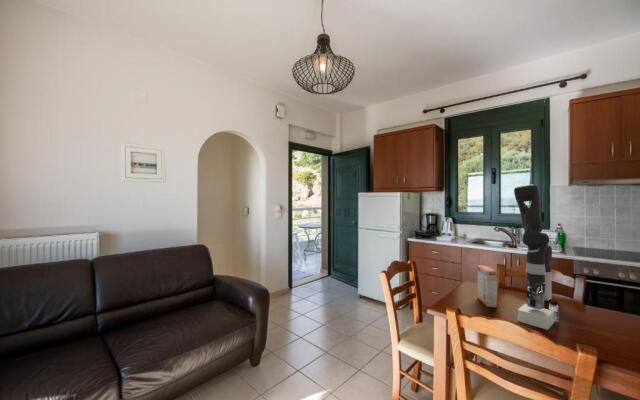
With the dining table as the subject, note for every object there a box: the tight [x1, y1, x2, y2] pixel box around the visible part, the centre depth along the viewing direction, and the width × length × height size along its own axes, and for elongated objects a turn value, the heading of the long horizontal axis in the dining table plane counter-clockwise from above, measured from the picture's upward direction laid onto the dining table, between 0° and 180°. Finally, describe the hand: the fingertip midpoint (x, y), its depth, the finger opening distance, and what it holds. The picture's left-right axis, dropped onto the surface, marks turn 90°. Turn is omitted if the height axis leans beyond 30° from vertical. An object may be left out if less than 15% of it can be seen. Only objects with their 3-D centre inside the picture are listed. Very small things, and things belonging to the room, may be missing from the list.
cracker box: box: [477, 264, 498, 308], centre depth 160 cm, size 14×6×21 cm, turn 168°
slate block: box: [526, 292, 545, 310], centre depth 136 cm, size 5×5×7 cm
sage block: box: [517, 303, 555, 331], centre depth 136 cm, size 12×12×6 cm
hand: (535, 305), depth 136 cm, fingers closed on slate block, 5 cm apart
